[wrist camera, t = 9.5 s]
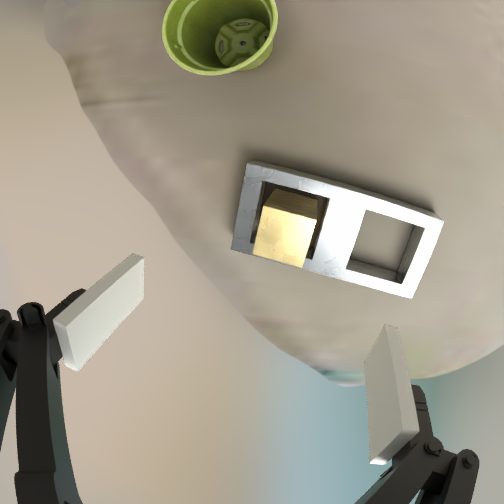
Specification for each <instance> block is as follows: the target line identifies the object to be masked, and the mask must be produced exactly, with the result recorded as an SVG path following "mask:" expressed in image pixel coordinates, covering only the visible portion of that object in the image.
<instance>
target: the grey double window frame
mask: <svg viewBox="0 0 504 504" xmlns="http://www.w3.org/2000/svg"><path fill="white" fill-rule="evenodd" d="M266 182H270V183H274V184H278V185H282V186H286V187H290V188H294V189H298V190H302V191H305V192H309V193H313V194H317V195H320V196H324V197H327V198H328V199H327V203H326V206H325V210H324V213H323V217H322V220H321V224H320V227H319V231H318V234H317V238H316V241H315V244H314V248H310V247H308V250H307V254H306V257H305V260H304V263H303V267H302V268H301V267H297V266H294V265H290V264H286V263H283V262H279V261H276V260H272V259H269V258H265V257H262V256H258V255H255V254H253V249H254V245H255V240H256V236H257V233H255V232H256V228H257V223H258V218H259V214H260V209H261V205H262V200H263V195H264V191H265V186H266ZM366 209H368V210H372V211H375V212H378V213H381V214H384V215H388V216H391V217H394V218H397V219H400V220H403V221H406V222H409V223H412V224H415V226H414V229H413V232H412V235H411V237H410V240H409V242H408V245H407V248H406V250H405V253H404V255H403V258H402V260H401V263H400V265H399V267H398V270H397V272H395V271H392V270H388V269H385V268H382V267H378V266H375V265H371V264H367V263H364V262H360V261H357V260H353V259H350V258H349V257H350V255H351V252H352V249H353V246H354V243H355V240H356V237H357V234H358V231H359V228H360V225H361V222H362V219H363V216H364V213H365V210H366ZM443 223H444V221H443V220H442V219H441V218H440V217H439V216H437V215H436V214H435V213H434V212H431V211H428V210H425V209H423V208H420V207H417V206H414V205H411V204H408V203H405V202H402V201H399V200H397V199H394V198H390V197H387V196H384V195H381V194H378V193H375V192H372V191H369V190H365V189H362V188H359V187H355V186H352V185H349V184H345V183H342V182H338V181H335V180H331V179H328V178H324V177H321V176H317V175H313V174H309V173H306V172H302V171H298V170H294V169H290V168H286V167H282V166H278V165H274V164H269V163H265V162H261V161H256V160H253V161H251V162H249V163H247V166H246V171H245V176H244V182H243V187H242V192H241V197H240V203H239V208H238V213H237V218H236V224H235V229H234V235H233V240H232V246H231V250H235V251H238V252H242V253H246V254H249V255H253V256H257V257H260V258H264V259H268V260H271V261H275V262H279V263H282V264H286V265H290V266H293V267H297V268H301V269H304V270H308V271H312V272H315V273H319V274H323V275H326V276H330V277H334V278H337V279H341V280H345V281H348V282H352V283H356V284H359V285H363V286H367V287H371V288H374V289H378V290H382V291H385V292H389V293H393V294H396V295H400V296H404V297H408V298H412V296H413V294H414V292H415V290H416V287H417V285H418V283H419V281H420V279H421V277H422V274H423V272H424V270H425V268H426V265H427V263H428V261H429V258H430V256H431V254H432V251H433V249H434V246H435V244H436V241H437V239H438V236H439V234H440V231H441V228H442V226H443Z"/></svg>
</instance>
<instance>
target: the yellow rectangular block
mask: <svg viewBox="0 0 504 504" xmlns="http://www.w3.org/2000/svg"><path fill="white" fill-rule="evenodd" d="M317 204H318V200H317V199H313V198H309V197H306V196H302V195H299V194H295V193H291V192H287V191H284V190H280V189H276V188H275V190H274V191H273V193H272V194H271V195H270V197H269V198H268V200H267V201H266V203H265V204H264V205H263V209H262V214H261V218H260V223H259V227H258V231H257V236H256V240H255V245H254V249H253V254H255V255H258V256H262V257H265V258H269V259H272V260H276V261H279V262H283V263H286V264H290V265H294V266H297V267H301V268H302V267H303V263H304V260H305V257H306V254H307V250H308V247H309V244H310V240H311V237H312V234H313V230H314V227H315V223H316V219H317Z"/></svg>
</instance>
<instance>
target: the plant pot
mask: <svg viewBox="0 0 504 504" xmlns="http://www.w3.org/2000/svg"><path fill="white" fill-rule="evenodd" d="M244 22H247V23H249V25H242V26H236V25H237V24H239V23H244ZM277 25H278V11H277V7H276V3H275V1H274V0H173V1H172V2H171V3H170V5H169V7H168V9H167V11H166V13H165V16H164V19H163V23H162V39H163V43H164V46H165V49H166V50H167V52H168V54H169V56H170V57H171V58H172V59H173V61H174V62H175V63H177V64H178V65H179V66H180V67H182V68H183V69H185V70H187V71H189V72H192V73H195V74H200V75H208V76H214V75H223V74H228V73H231V72H234V71H246V70H251V69H254V68H256V67H258V66H260V65H261V64H262V63H263V62H264V61H265V60H266V59H267V58H268V57H269V56H270V54H271V52H272V49H273V38H274V35H275V33H276V29H277ZM265 36H266V37H267V40H266V41H265ZM221 40H222V41H223V52H221V51H220V49H219V44H220V41H221ZM241 41H245V43H246V44H245V45H241V44H240V43H241ZM239 63H240V64H239Z"/></svg>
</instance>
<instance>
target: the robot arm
mask: <svg viewBox="0 0 504 504" xmlns="http://www.w3.org/2000/svg"><path fill="white" fill-rule="evenodd" d="M143 298H144V257H143V256H140V255H136V254H131V255H130V256H129V257H127V258H126V259H125V260H123V261H122V262H121V263H120V264H119V265H117V266H116V267H115V268H113V269H112V270H111V271H110V272H108V273H107V274H106V275H105V276H104V277H103V278H101V279H100V280H99V281H98V282H96V283H95V284H94V285H93V286H91V287H90V288H89V289H88V290H85V289H79V290H77V291H74V292H72V293H71V294H70V295H69V296H68V297H67V298H66V299H64V300H63V301H61V303H59V304H58V305H57V306H55V307H54V308H53V309H52V310H51V311H50V312H48V313H47V314H46V315H45V313H44V309H43V306H42V305H41V304H39V303H36V302H30V303H26V304H24V305H22V306H21V307H20V308H19V309H18V311H17V314H18V318H19V321H16V320H12V317H11V314H10V312H9V311H7V310H4V309H0V450H1V445H2V440H3V435H4V431H5V426H6V422H7V418H8V414H9V410H10V406H11V402H12V399H13V395H14V392H15V388H16V435H17V450H18V462H19V471H18V472H17V473H15V477H14V481H15V489H16V496H17V501H18V504H83V503H82V501H81V499H80V497H79V494H78V491H77V487H76V483H75V478H74V474H73V469H72V465H71V460H70V454H69V449H68V443H67V437H66V430H65V423H64V415H63V406H62V396H61V384H60V369H59V363H58V361H59V360H60V359H61V358H62V357H63V360H64V363H65V365H66V366H68V367H69V368H71V369H73V370H74V371H76V372H78V371H79V370H80V369H81V368H82V367H83V365H84V364H85V363H86V362H87V361H88V359H89V358H90V357H91V356H92V355H93V354H94V352H96V350H97V349H98V348H99V347H100V346H101V345H102V344H103V343H104V341H105V340H106V339H107V338H108V337H109V336H110V334H112V332H113V331H114V330H115V329H116V328H117V327H118V326H119V325H120V324H121V323H122V321H123V320H124V319H125V318H126V317H127V316H128V315H129V314H130V313H131V312H132V310H133V309H134V308H135V307H136V306H137V305H138V304H139V303H140V302H141V301H142V300H143ZM364 363H365V375H366V389H367V405H368V424H369V425H368V426H369V463H372V464H386V463H387V462H388V461H389V460H390V459H391V458H392V466H391V467H390V468H389V469H388V470H387V471H385V472H384V473H383V474H382V475H381V478H380V479H379V480H378V481H377V482H376V483H375V484H374V485H373V486H372V487H371V488H370V489H369V490H368V491H367V492H366V493H365V494H364V495H363V496H362V497H361V498H360V499H359V500H358V501H357V502H356V503H355V504H409V503H410V502H411V500H412V499H413V498H414V496H415V495H416V494H417V493H418V491H419V490H420V489H421V490H420V492H419V495H418V497H417V500H416V502H415V504H470V503H471V499H472V495H473V491H474V487H475V483H476V479H477V474H478V469H479V459H478V456H477V455H476V454H475V453H474V452H473V451H472V450H469V449H465V450H462V451H461V452H459V453H458V454H454V453H451V452H449V451H446V450H444V449H443V445H442V443H441V442H440V441H439V440H438V439H437V438H435V437H434V436H433V432H432V427H431V422H430V417H429V412H428V407H427V405H426V398H425V394H424V393H423V391H422V389H421V388H420V386H417V385H411V382H410V377H409V373H408V368H407V364H406V360H405V355H404V351H403V347H402V343H401V339H400V336H399V332H398V328H397V327H394V326H390V325H386V324H385V325H384V327H383V328H382V330H381V332H380V334H379V336H378V338H377V340H376V342H375V344H374V345H373V347H372V349H371V351H370V353H369V354H368V356H367V358H366V360H365V361H364Z"/></svg>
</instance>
